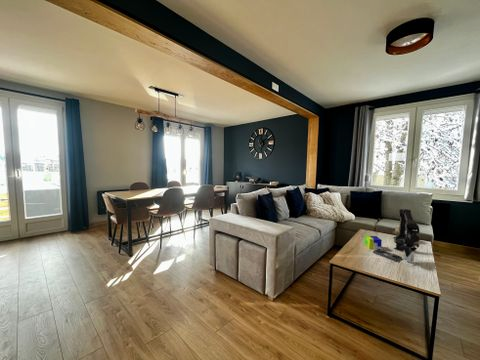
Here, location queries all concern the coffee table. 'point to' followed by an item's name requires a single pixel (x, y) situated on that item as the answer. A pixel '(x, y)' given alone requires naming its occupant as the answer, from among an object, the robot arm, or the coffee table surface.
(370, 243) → the puzzle toy
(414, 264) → the mat
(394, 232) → the owl figurine
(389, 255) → the slotted plate
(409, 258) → the brushed metal block
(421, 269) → the coffee table surface
